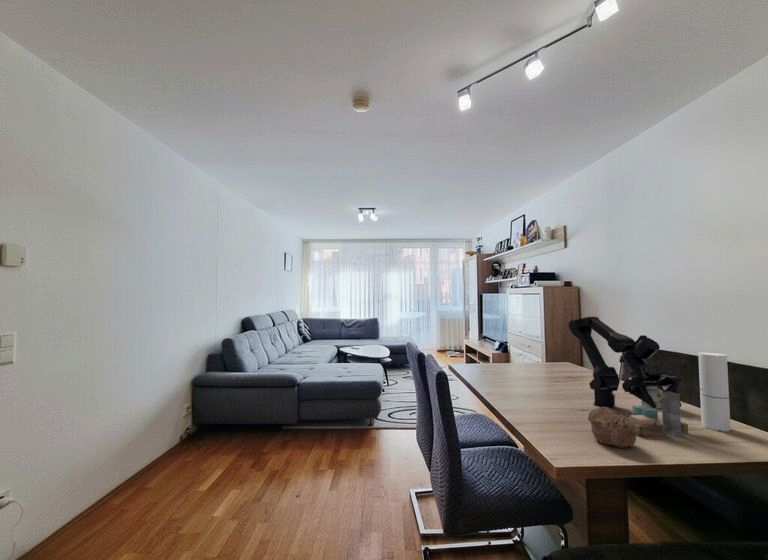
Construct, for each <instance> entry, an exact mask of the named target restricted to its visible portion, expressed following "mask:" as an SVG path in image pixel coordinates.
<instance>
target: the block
mask: <svg viewBox="0 0 768 560" xmlns="http://www.w3.org/2000/svg"><path fill="white" fill-rule="evenodd" d="M629 419H630V420H631V421H632V422H633V423H635V424H637V425H654V422H653V419H650V418H648V417H645V416H643V415H633V414H631V415H629Z"/></svg>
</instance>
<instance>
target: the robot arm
mask: <svg viewBox="0 0 768 560" xmlns="http://www.w3.org/2000/svg"><path fill="white" fill-rule="evenodd" d="M568 328H569V331H570V333H571V334H572V335H573V336H574V337H575V338H577V339H579V342H580V344H581V346H582V347H583V350H584V351H585V354H586V355H587V357H588V360H589V362H590V364H591V366H592V368H593V373H592V377H593V379H592V380H591V381H590V382H589V387H590V389H591V390H593V391H594V392H593V393H594V402H593V405H594V406H598V407H608V408H610V409H613V408H614V407H615V405H616V394H614V392H618V389H619V387H620V386H619V385H620V383H621V380H620V375H619V374H618V372H617V371H616V368H615V367H614V366H609V365H607V364H606V361H605V360H604V358H603V356H602V354H601V352H600V350H599V348H598V346H597V344H596V342H595V341H594V339H593V337H592V332H593V331H594V332H596V333H597V334H598V335H599V336H601V337H602V338H603V339H604V340H606V341H607V345H608V347H610V349H611V350H612V351H613V352H614V353H616V354H617V353H618V354H619V353H620V354H621V353H622V354H623V353H624V354H623V355H620V358H619V363H621V364H626V365H627V367H628V369H629V370H630V371H631V372H630V373H629V374H630V376H629V377H628V378H627V379H626V380H625V381H624V382H622V384H621V386H622V387H621V388H622V389H623V391H624V392H625V393H628V394H629V395H633V396H634V397H636V398H638V399H639V400H641V402H642V401H644V402H645V403H647V404H648V405H650V406H651V407H650V408H653V409H657V408H656V407H657V406H656V404H655V402H654V401H653V399H652V398H651V396H650V395H649V393H648V392H647V387H659V388H660V389H661V390H662V391H663V392H674V393H677V394H679V393H678V388H679V387H680V386H681V385H682V384H683V382H682V380H681V379H680V377H678V376H673V375H672V376H671V375H670V376H667V377H665V378H664V379H663V380H661V381H659V380H658V379H659V378H661V377H662V375H663V374H667V375H669V374H671V372H672V371H673V367H672V365H671V364H669V362H668V361H667V362H666V361H664V362H660V363H654V364H648V363H647V361H646V360H649V359H650V358H652V356H653V355H654V354H655V353H657V351H659V350H660V345H659V343H658V342H657V341H655V340H654V339H652V338H650V337H648V336H647V335H645V334H643V335H639V336H638V337H637V339H636V340H634V338H632V337H630V336H628V335H625V334H622V333H618V332H617V331H615V330H614V329H613V328H611V327H610V326H609V325H607V324H606V323H604V322H603V321H602V320H601V319H600V318H599V317H598V316H586V317H583V318H579V319H571V320H570V321H569V323H568ZM681 407H682V403H681V401H680V408H681Z"/></svg>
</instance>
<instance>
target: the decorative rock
mask: <svg viewBox="0 0 768 560" xmlns="http://www.w3.org/2000/svg"><path fill="white" fill-rule="evenodd" d="M587 416H588V417H587V420H588V421H589V423H590V425H591V429H590V430H591V433H592V434H593V437H594V439H595V440H597V441H599V442H600V444H605V445H609V446H613V447H615V448H618V449H623V448H629V447H630V448H631V447H633V446H634V445H635V443H636V441H637V436H636V435H637V433H638V432H639V430H638V428H637V427H636V425H635V423H633V422H632V421H631V420H630V418H628V417H627V416H625V414H623V413H621V412H619V411H616V410H615V409H613V408H609V407H603V406H598V407H597V408H594V409H592V410H591V411H589V413H588V415H587Z"/></svg>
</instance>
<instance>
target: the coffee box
mask: <svg viewBox="0 0 768 560" xmlns="http://www.w3.org/2000/svg"><path fill="white" fill-rule="evenodd" d="M665 377H668V374H663V375H662V377H661V378H659V379H658V380H659V381H661V380H663V379H664V378H665ZM647 392H648V393H649V395H650V396H651V398H652V399H653V401H654V402H655V404H656V406H657V407H656V408H655V409H656V410H659V409H660V410H661V409H662V392H663V391H662V390H661V389H660V388H659V387H647ZM641 406H648V407H650V408H652V407H651V406H650V405H648V404H647V403H645V402H644V401H642V400H641Z"/></svg>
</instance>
